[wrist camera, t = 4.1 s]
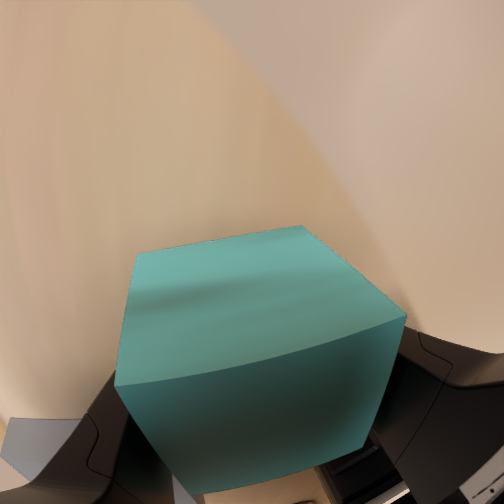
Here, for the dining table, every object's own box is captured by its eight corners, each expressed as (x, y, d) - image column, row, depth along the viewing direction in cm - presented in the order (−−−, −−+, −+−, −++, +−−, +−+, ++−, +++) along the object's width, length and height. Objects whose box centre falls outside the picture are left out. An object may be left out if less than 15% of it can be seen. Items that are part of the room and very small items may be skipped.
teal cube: (301, 346, 11) (362, 447, 7) (174, 375, 10) (190, 495, 6) (301, 225, 9) (406, 314, 5) (136, 254, 8) (114, 386, 4)
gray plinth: (200, 482, 17) (207, 514, 14) (83, 487, 15) (83, 517, 13) (159, 413, 13) (163, 462, 10) (10, 417, 11) (-1, 456, 8)
